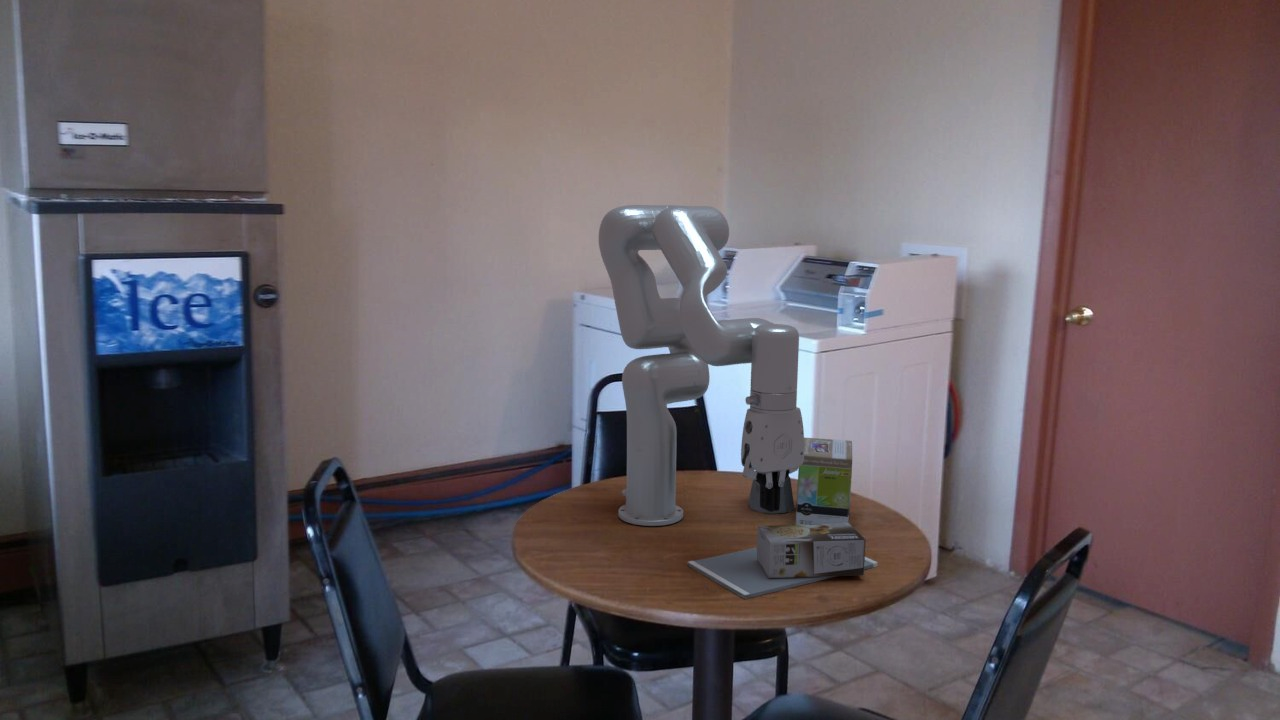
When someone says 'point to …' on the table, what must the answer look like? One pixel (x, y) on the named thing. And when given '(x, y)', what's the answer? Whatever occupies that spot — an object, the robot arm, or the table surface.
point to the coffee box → (810, 550)
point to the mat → (750, 574)
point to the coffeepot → (785, 498)
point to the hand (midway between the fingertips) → (769, 508)
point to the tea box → (824, 482)
